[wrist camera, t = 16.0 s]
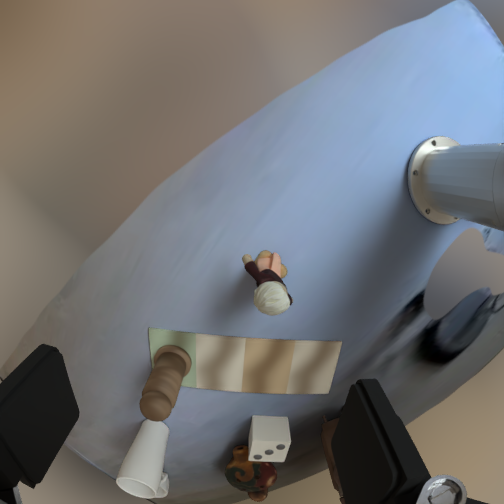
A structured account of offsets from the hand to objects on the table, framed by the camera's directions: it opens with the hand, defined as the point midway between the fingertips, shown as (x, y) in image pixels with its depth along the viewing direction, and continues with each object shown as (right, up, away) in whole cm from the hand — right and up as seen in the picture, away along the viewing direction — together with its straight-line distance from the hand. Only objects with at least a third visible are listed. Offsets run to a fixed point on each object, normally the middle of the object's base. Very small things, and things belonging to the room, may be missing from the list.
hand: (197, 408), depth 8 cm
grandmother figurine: (+4, +3, +31) cm, 31 cm away
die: (+4, -26, +38) cm, 46 cm away
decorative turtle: (+1, -35, +41) cm, 54 cm away
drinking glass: (-16, -27, +38) cm, 50 cm away
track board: (0, -12, +34) cm, 36 cm away
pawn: (-10, -11, +34) cm, 37 cm away
